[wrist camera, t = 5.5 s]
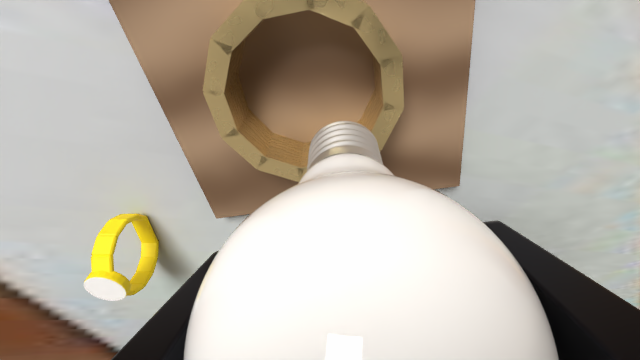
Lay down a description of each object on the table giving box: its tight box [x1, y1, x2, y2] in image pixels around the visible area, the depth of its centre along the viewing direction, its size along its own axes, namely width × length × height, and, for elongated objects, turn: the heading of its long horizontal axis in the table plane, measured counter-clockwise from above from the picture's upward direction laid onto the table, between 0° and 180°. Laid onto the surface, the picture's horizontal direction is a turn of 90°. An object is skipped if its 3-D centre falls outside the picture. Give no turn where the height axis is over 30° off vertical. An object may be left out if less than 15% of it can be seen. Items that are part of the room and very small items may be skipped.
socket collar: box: [203, 0, 404, 182], centre depth 16 cm, size 10×10×3 cm
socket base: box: [109, 0, 475, 218], centre depth 18 cm, size 18×18×1 cm
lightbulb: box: [183, 121, 559, 360], centre depth 8 cm, size 6×6×11 cm
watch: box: [84, 214, 159, 301], centre depth 24 cm, size 6×3×6 cm, turn 1°
